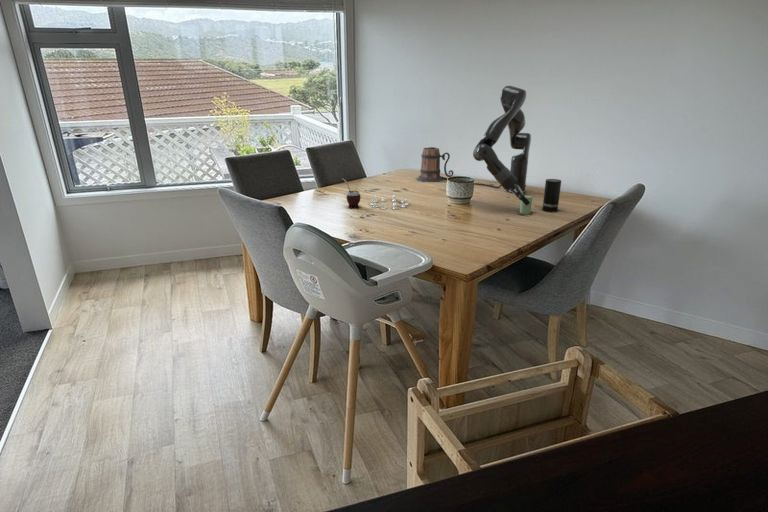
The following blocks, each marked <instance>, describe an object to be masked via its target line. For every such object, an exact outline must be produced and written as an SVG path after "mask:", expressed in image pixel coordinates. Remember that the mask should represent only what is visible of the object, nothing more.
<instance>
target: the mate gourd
mask: <svg viewBox="0 0 768 512" xmlns="http://www.w3.org/2000/svg"><path fill="white" fill-rule="evenodd" d="M341 180H343V181H344V182H345V183H346V186H347V188H348V192H347V193H346V202H347V204H348V209H359V204H360V202H361V193H360V192H359V190H351V188H350V185H349V182H348V181H347V180H346V179H344V178H343V177H342V178H341Z"/></svg>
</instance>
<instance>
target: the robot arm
mask: <svg viewBox="0 0 768 512" xmlns="http://www.w3.org/2000/svg"><path fill="white" fill-rule="evenodd" d="M526 99H527V91H526V90H525V89H524V88H521V87H517V86H513V85H505V86H504V87H503V88H502V90H501V92H500V100H499V101H500V104H501V106H502V109H503V112H504V113H503V114H501V115H500V116H498V117H497V118H496V119H494V120H492V121H491V123H490V124H489V126H488V127H487V129H486V131H485V132H484V134H483V136H482V137H481V139H480V140H479V142H478V143H476V146H475V147H474V149H473V152H472V156H473V159H474V160H475V161H477V162H482V161H483V162H484V163H485V164H486V169H487V171H488V172H489V173H490V174H491V175H492V176H493V177H494V179H495V180H496V182H497V183H499V186H494V185H492V184H487V183H479V182H474V183H475V184H474V185H476V186H484V187H485V186H486V187H490V188H493V189H500V188H501V187H502V188H503V190H505V191H506V192H508V193H512V194H514V196H515V197H516V198H518V199H519V200H520V201H521V200H522V201H523V203H524V204H525V205H528V204H529V203H530V202H529V201H528V200H527V198H526V197H525V196H524V195H526V194H525V192H526V187H527V185H526V184H527V174H528V167H529V165H528V164H529V156H530V148H531V144H532V143H531V142H532V134H531V133H530V132H522V130H524V128H525V127H526V116H525V113H524V111H523V109H522V107H523V105H524V103H525V101H526ZM506 127H507V129H508V134H509V144H510V148H511V149H513V150H519V151H520V150H521V151H522V152H521V153H518V154H515V155H512V156H511V158H510V159H511V160H510V169H509V168H508V167H507V166H506V165H505V164H504V163H503V162H502V161H501V160H500V159H499V157H498V155H497V154H496V151H495V150H494V148H493V146H495V145H496V144H497V142H498V141H499V140H500V138H501V136H502V135H503V132H504V131H505V129H506ZM441 177H442V179H443V180H447V178H448V177H445V176H441Z"/></svg>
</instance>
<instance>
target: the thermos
mask: <svg viewBox="0 0 768 512" xmlns="http://www.w3.org/2000/svg"><path fill="white" fill-rule="evenodd" d="M561 188H562V179H557V178H547V179H545V185H544V190H543V192H544V193H543V201H542V211H543V212H547V213H556V212H558V211H559V205H560V203H559V201H560V195H561Z"/></svg>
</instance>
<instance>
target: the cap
mask: <svg viewBox="0 0 768 512" xmlns="http://www.w3.org/2000/svg"><path fill="white" fill-rule="evenodd" d="M524 196H525V197H526V198H527V200H528V201H529V202H530V203H529V204H528V205H525V204H524V203H523V201H522V200H520V204H519V214H522V215H529V214H532V205H533V196H532V195H529V194H525V195H524Z"/></svg>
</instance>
